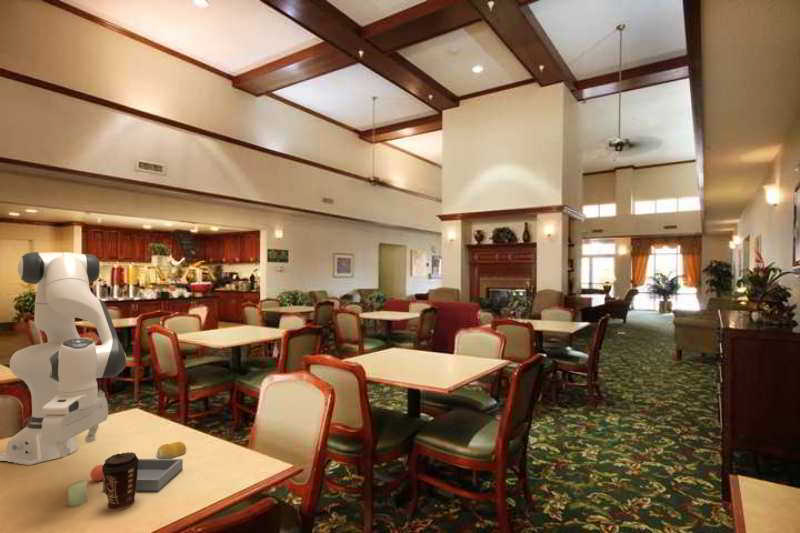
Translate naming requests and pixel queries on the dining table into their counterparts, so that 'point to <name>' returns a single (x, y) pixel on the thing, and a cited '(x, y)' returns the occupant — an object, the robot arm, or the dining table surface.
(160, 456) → the bread roll
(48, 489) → the dining table surface
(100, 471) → the red ball
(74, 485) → the pale green capsule
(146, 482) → the bin
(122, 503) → the coffee cup
